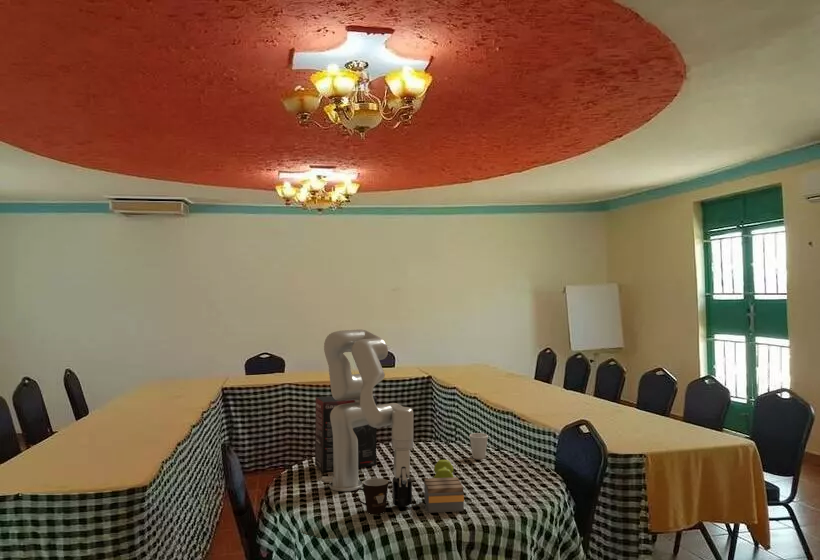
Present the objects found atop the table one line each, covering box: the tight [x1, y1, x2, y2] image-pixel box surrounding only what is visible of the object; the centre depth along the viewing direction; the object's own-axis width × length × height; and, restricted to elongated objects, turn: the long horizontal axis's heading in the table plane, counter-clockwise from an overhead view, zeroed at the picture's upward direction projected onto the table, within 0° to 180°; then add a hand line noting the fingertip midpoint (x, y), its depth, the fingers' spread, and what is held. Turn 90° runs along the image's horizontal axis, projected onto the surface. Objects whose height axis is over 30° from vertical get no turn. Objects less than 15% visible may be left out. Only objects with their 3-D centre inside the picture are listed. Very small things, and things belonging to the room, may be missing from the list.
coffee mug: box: [353, 477, 389, 515], centre depth 218 cm, size 12×9×10 cm
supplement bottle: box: [391, 468, 413, 508], centre depth 221 cm, size 7×7×12 cm
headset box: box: [314, 395, 378, 473], centre depth 274 cm, size 24×13×33 cm, turn 115°
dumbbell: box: [433, 459, 455, 478], centre depth 249 cm, size 16×8×7 cm, turn 177°
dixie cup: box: [469, 432, 489, 460], centre depth 284 cm, size 8×8×10 cm
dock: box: [423, 483, 465, 514], centre depth 222 cm, size 12×13×6 cm
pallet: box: [423, 476, 464, 493], centre depth 222 cm, size 12×12×2 cm
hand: (402, 494), depth 221 cm, fingers closed on supplement bottle, 6 cm apart
